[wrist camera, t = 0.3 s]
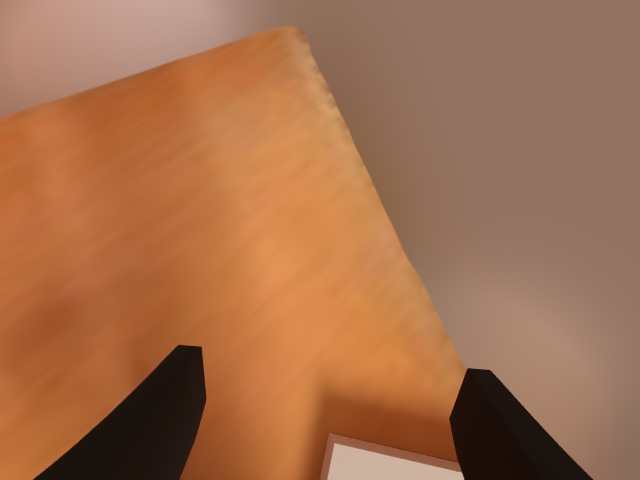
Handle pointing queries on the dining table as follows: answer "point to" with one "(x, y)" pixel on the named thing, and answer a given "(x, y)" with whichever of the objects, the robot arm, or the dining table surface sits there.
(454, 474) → the socket block
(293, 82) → the dining table surface
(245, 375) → the dining table surface
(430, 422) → the dining table surface
